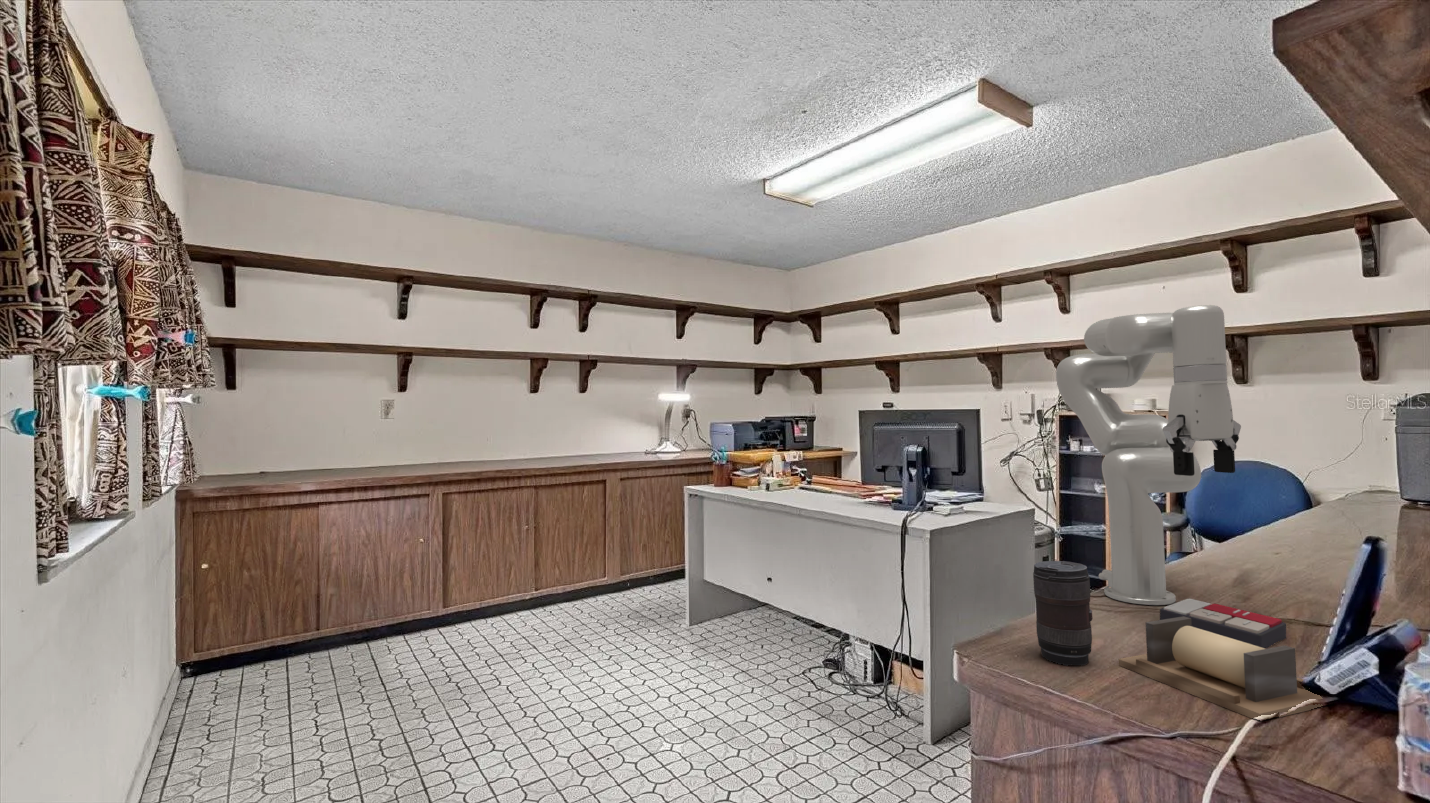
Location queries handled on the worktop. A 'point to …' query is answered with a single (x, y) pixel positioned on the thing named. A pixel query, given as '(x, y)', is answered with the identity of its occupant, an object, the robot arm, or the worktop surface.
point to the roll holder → (1265, 680)
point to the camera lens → (1063, 611)
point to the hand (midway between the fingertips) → (1204, 473)
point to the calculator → (1229, 622)
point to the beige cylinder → (1212, 654)
